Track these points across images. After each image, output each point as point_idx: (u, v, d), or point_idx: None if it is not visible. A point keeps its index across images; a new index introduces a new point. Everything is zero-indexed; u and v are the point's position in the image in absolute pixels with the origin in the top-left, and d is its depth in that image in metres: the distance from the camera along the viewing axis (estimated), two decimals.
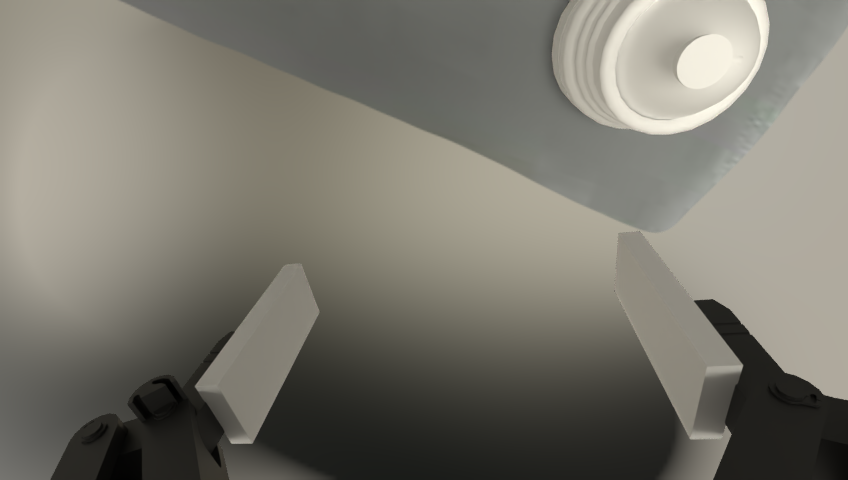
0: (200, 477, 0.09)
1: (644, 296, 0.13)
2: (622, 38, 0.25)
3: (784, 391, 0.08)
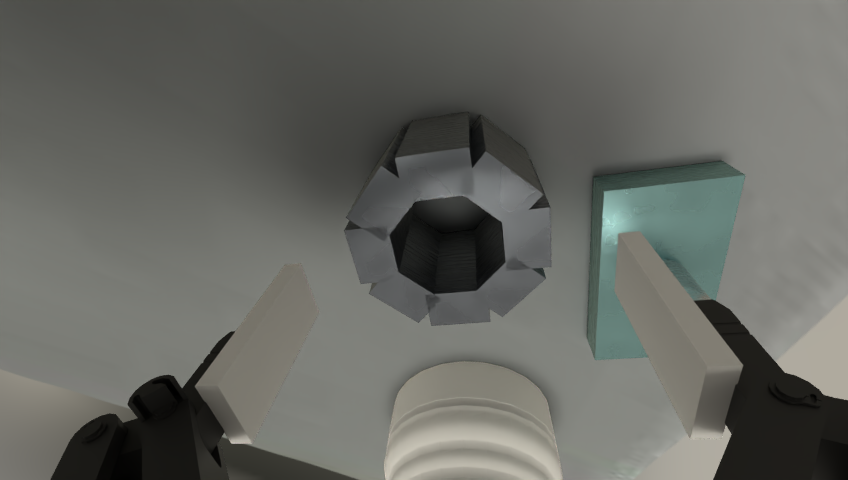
0: (200, 477, 0.09)
1: (644, 296, 0.13)
2: None
3: (784, 391, 0.08)
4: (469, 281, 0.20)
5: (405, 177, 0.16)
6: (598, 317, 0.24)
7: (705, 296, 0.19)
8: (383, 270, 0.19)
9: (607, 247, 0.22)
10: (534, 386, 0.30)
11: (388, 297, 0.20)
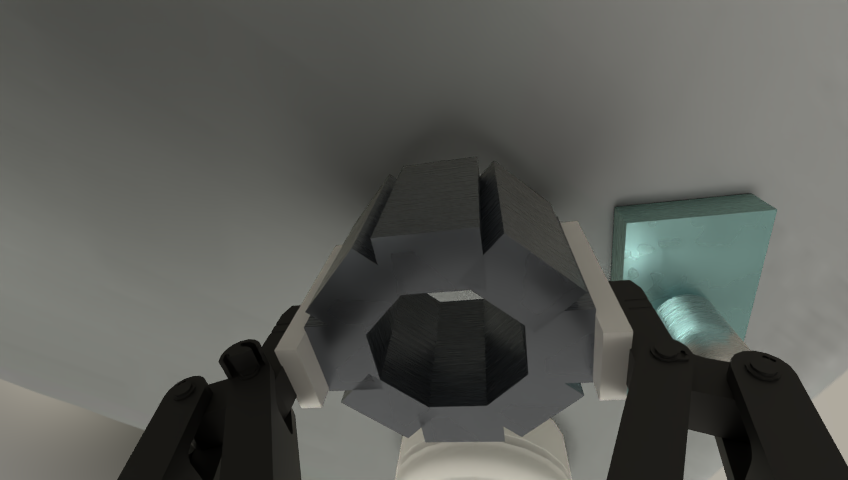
0: (272, 444, 0.10)
1: None
2: None
3: (661, 352, 0.10)
4: (477, 388, 0.15)
5: (386, 264, 0.11)
6: None
7: (735, 336, 0.18)
8: (359, 376, 0.14)
9: None
10: (549, 420, 0.29)
11: (366, 407, 0.15)
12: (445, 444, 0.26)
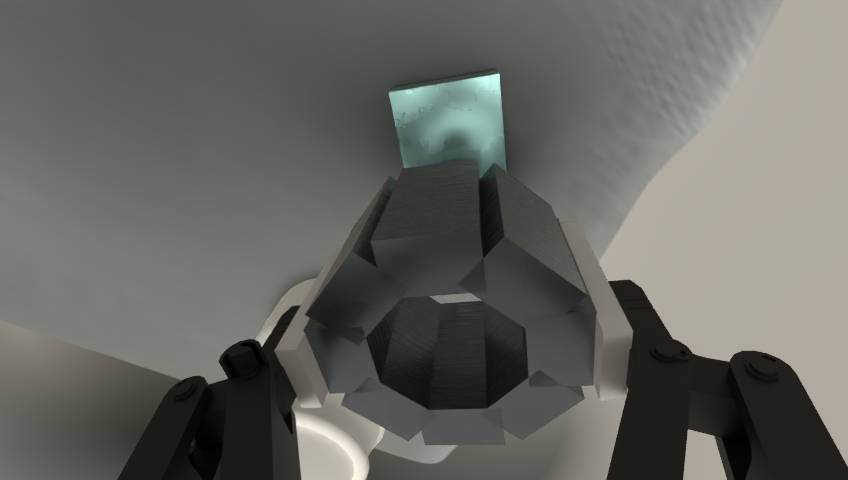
0: (272, 444, 0.10)
1: None
2: None
3: (661, 352, 0.10)
4: (477, 390, 0.14)
5: (386, 267, 0.11)
6: None
7: None
8: (359, 379, 0.14)
9: (405, 147, 0.25)
10: None
11: (366, 410, 0.14)
12: None
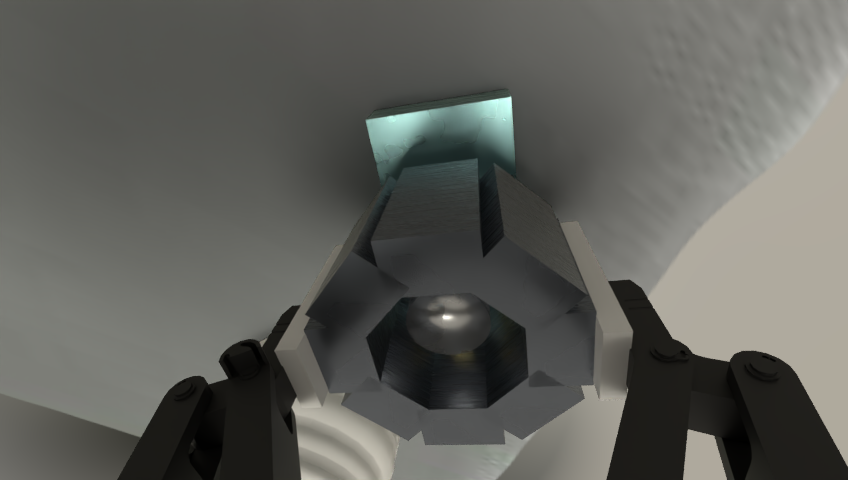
0: (272, 444, 0.10)
1: None
2: None
3: (661, 352, 0.10)
4: (477, 390, 0.14)
5: (386, 267, 0.11)
6: None
7: None
8: (359, 379, 0.14)
9: None
10: None
11: (366, 410, 0.15)
12: None
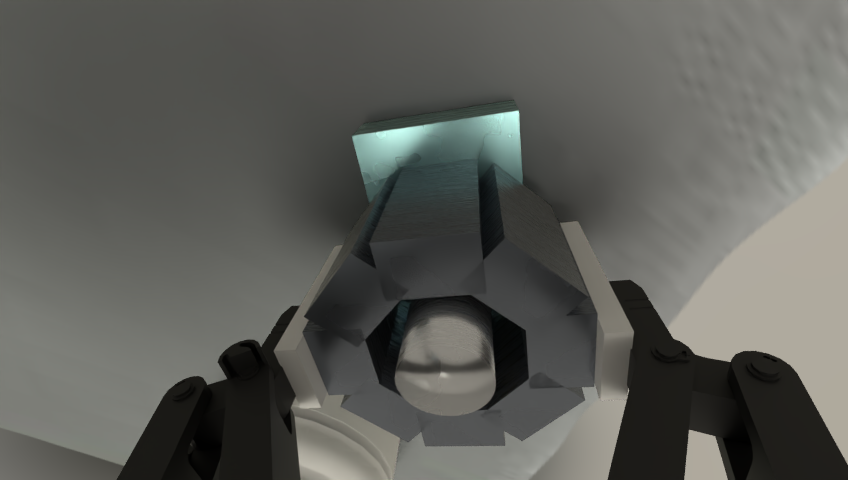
0: (271, 444, 0.10)
1: None
2: None
3: (663, 352, 0.10)
4: None
5: (385, 269, 0.11)
6: None
7: None
8: (358, 381, 0.14)
9: None
10: None
11: (366, 412, 0.14)
12: None
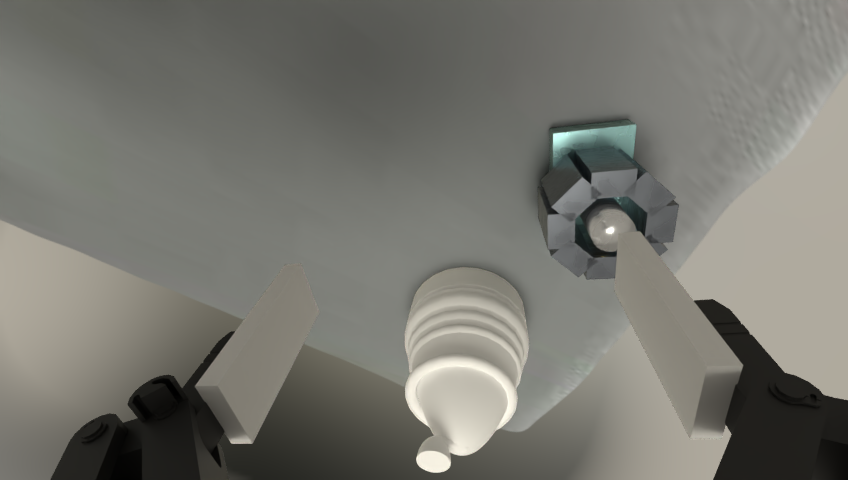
0: (200, 477, 0.09)
1: (644, 296, 0.13)
2: (415, 385, 0.35)
3: (784, 391, 0.08)
4: (614, 251, 0.31)
5: (595, 184, 0.28)
6: None
7: None
8: (565, 241, 0.31)
9: None
10: (513, 288, 0.43)
11: (563, 259, 0.31)
12: (441, 292, 0.39)
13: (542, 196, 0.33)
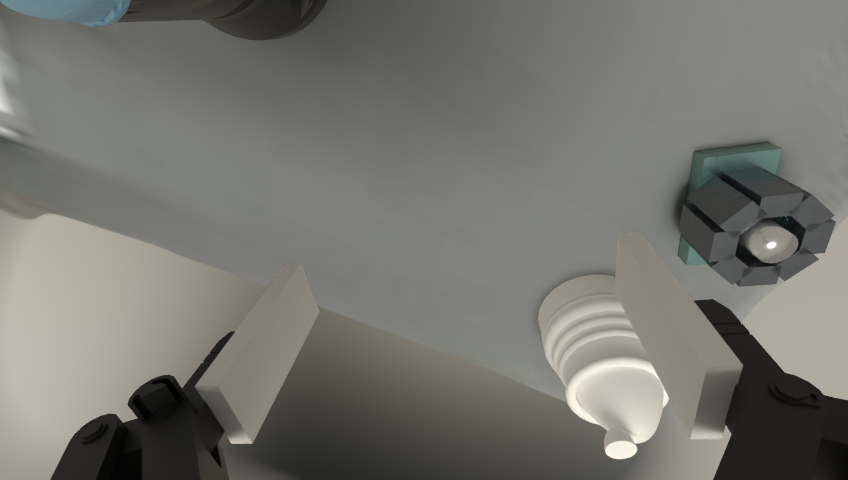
0: (200, 477, 0.09)
1: (644, 296, 0.13)
2: (579, 384, 0.40)
3: (784, 391, 0.08)
4: None
5: (763, 206, 0.33)
6: None
7: None
8: (726, 254, 0.35)
9: None
10: None
11: (721, 269, 0.36)
12: (584, 298, 0.44)
13: (695, 214, 0.37)
